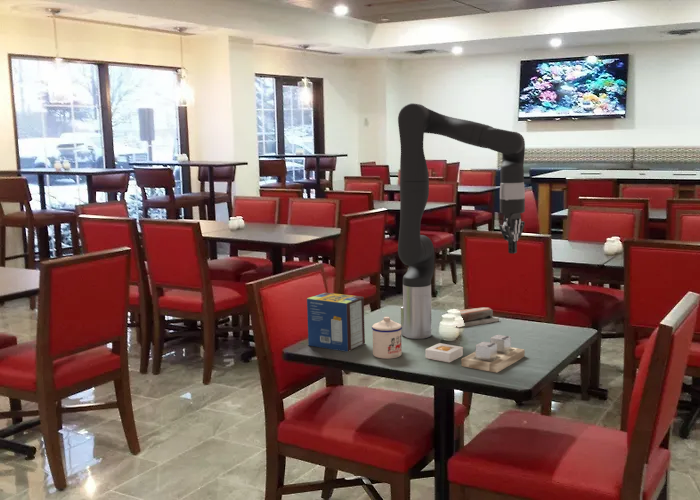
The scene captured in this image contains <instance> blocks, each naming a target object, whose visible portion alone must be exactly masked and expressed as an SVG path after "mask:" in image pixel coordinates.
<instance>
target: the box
mask: <svg viewBox="0 0 700 500" xmlns="http://www.w3.org/2000/svg"><path fill="white" fill-rule="evenodd" d="M438 347H450V350H448V351H443V350H438ZM424 350H425V352H424V353H425V359H429V360H434V361H438V362H439V361H440V362H444V363H451V362H453V361H455V360H457V359H459V358H461V357H463V355H464V353H463V351H464V347H463V346H460V345H459V346H458V345H455V344H454V345H453V344H448V343H447V344H446V343H441V342H439V343H436V344H434V345H432V346H430V347H427V348H425V349H424Z"/></svg>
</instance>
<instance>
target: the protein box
mask: <svg viewBox="0 0 700 500" xmlns="http://www.w3.org/2000/svg"><path fill="white" fill-rule="evenodd" d="M306 308H307V310H306V311H307V313H306V314H307V342H308V343H307V345H308V346H309V347H317V348H321V349H329V350H335V351H341V352H346V353H347V352H350V351H352V350H354V349H357V348H359V347H361V346H363V345H365V344H366V339H365V337H366V335H365V332H366V331H365V298H364V296H361V295H351V294H343V293H342V294H341V293H330V292H322V293H320V294H317V295H313V296H310V297H307V298H306Z"/></svg>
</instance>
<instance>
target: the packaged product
mask: <svg viewBox="0 0 700 500" xmlns="http://www.w3.org/2000/svg"><path fill="white" fill-rule="evenodd" d="M457 311H460V312H461V316H462V318H463V320H464V323H465V327H466V328H467V327H471V326H472V327H473V326H477V325H484V324H490V323H496V322H499V321H500V318H499V317H496V316H493V314H494V312H493V311H494V310H493V309H492V308H491V307H483V306H482V307H475V308H467V309H459V310H457Z"/></svg>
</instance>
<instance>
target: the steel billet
mask: <svg viewBox="0 0 700 500" xmlns="http://www.w3.org/2000/svg"><path fill="white" fill-rule="evenodd" d="M475 352H476V360H480V361H486V362H491V363H492V362H494V361H495V360H497V344H495V343H490V342H489V341H488V342H487V341H481V342H479V343H477V344H475Z"/></svg>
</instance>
